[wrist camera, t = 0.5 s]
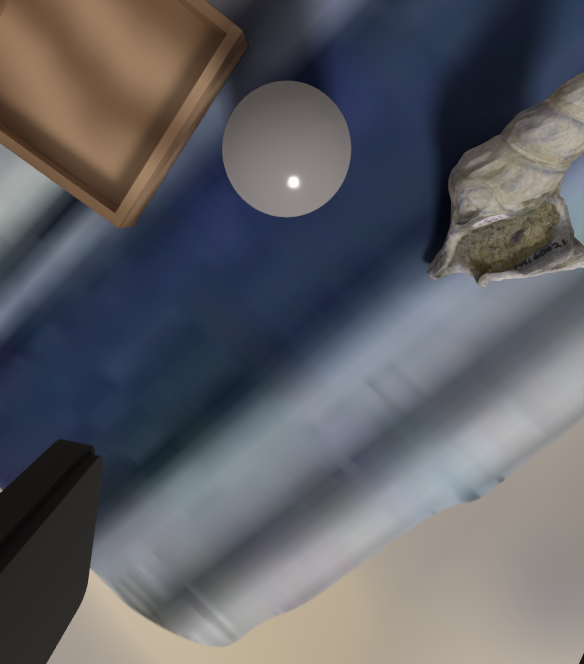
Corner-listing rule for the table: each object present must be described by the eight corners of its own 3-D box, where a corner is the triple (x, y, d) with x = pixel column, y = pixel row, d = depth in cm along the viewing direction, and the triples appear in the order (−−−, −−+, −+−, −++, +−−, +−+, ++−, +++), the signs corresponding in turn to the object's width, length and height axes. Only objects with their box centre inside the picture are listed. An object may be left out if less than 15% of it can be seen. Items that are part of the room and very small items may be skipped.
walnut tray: (59, -104, 32) (34, -136, 29) (248, 46, 34) (242, 30, 31) (-44, 98, 35) (-76, 88, 32) (133, 226, 37) (118, 227, 34)
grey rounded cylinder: (281, 91, 34) (271, 51, 26) (360, 154, 35) (377, 136, 26) (224, 176, 36) (197, 165, 27) (301, 234, 37) (299, 242, 28)
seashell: (378, 222, 36) (404, 227, 26) (570, 46, 33) (679, -22, 23) (464, 320, 38) (518, 357, 28) (655, 160, 35) (791, 141, 25)
